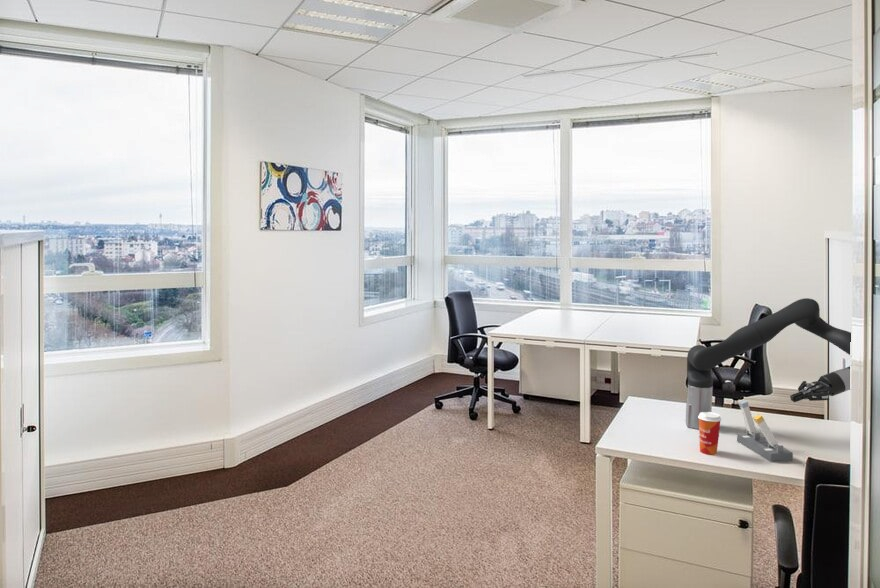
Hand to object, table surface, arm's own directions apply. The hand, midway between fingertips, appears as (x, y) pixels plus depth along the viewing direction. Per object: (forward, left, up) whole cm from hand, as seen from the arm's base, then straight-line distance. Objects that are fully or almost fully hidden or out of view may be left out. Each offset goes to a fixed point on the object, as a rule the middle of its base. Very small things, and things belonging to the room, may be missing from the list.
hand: (791, 399), depth 207 cm
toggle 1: (-10, +8, -16) cm, 21 cm away
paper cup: (-27, -4, -21) cm, 34 cm away
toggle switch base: (-8, +2, -20) cm, 22 cm away
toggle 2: (-5, -4, -16) cm, 18 cm away
